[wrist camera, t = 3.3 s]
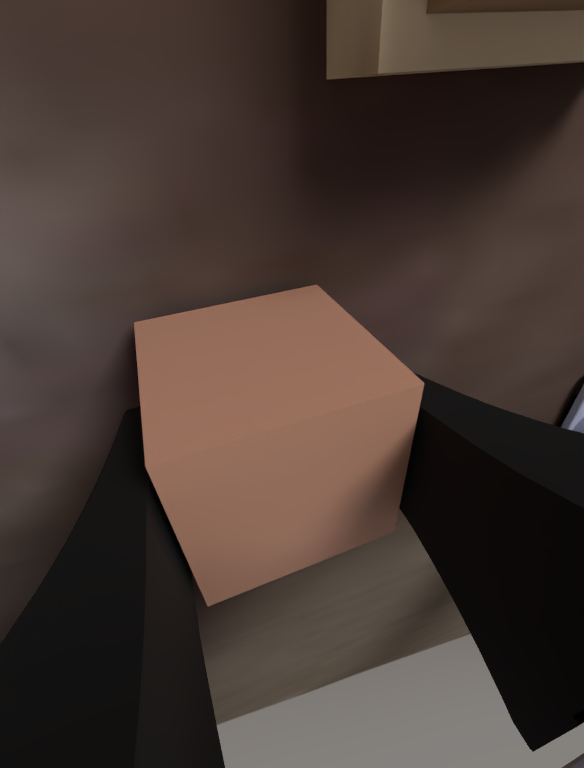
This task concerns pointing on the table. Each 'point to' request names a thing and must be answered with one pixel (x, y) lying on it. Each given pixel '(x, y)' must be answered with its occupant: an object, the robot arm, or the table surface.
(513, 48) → the oak slab
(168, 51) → the table surface
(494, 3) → the tan wooden flat block
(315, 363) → the terracotta cube
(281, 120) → the table surface
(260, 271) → the table surface
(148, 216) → the table surface
